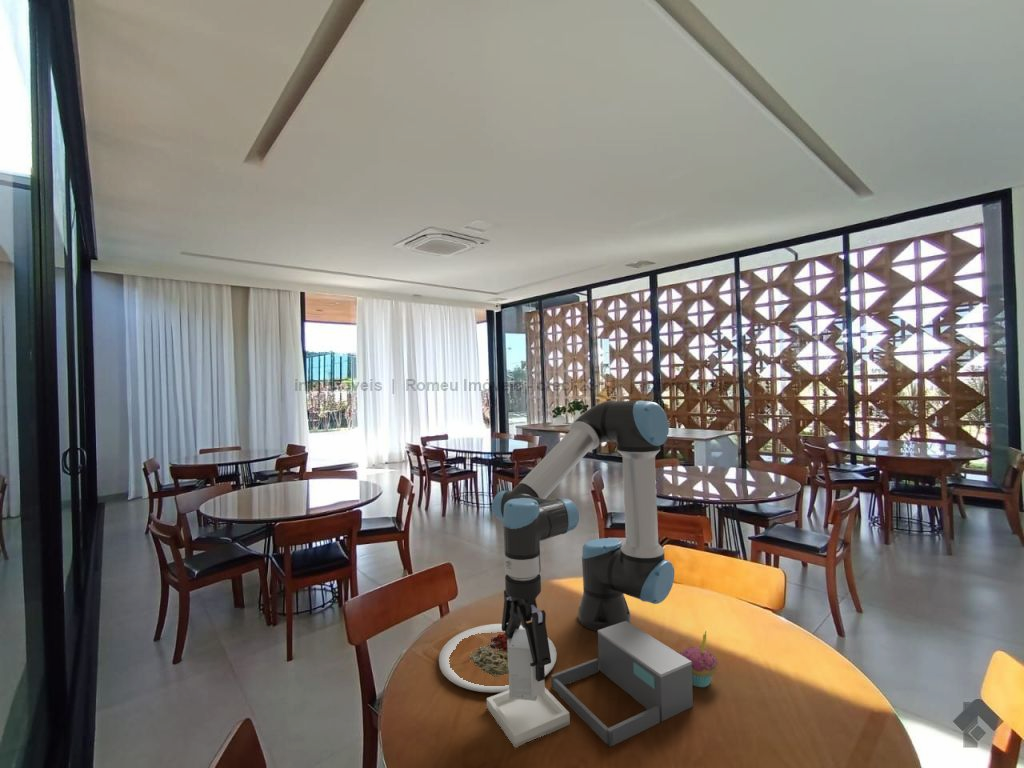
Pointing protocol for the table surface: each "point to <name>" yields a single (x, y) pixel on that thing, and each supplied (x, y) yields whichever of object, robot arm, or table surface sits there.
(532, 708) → the tray
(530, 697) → the small box
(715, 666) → the cupcake
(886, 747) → the table surface
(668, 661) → the printer
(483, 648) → the plated food
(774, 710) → the table surface
